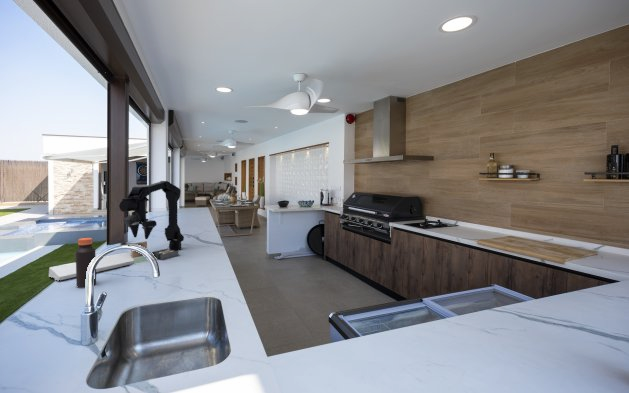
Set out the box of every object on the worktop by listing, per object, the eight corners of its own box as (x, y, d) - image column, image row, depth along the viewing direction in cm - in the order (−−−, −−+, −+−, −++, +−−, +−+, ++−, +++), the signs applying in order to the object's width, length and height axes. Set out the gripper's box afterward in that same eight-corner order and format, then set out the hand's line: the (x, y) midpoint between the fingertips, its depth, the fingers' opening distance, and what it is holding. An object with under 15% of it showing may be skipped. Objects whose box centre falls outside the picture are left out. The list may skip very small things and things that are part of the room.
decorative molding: (135, 268, 168) (125, 260, 173) (137, 259, 167) (126, 252, 172) (58, 286, 139) (48, 276, 143) (59, 277, 138) (49, 267, 142)
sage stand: (144, 259, 178) (144, 252, 178) (154, 260, 175) (153, 254, 174) (125, 263, 168) (125, 256, 168) (135, 265, 165) (134, 258, 165)
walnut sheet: (145, 259, 175) (145, 241, 175) (147, 259, 174) (147, 241, 174) (131, 262, 168) (131, 243, 167) (133, 263, 167) (133, 244, 167)
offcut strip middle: (168, 255, 185) (168, 250, 185) (170, 255, 184) (170, 250, 184) (159, 257, 180) (158, 252, 179) (160, 257, 179) (160, 252, 179)
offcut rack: (166, 254, 190) (166, 248, 190) (180, 256, 185) (180, 250, 184) (148, 258, 179) (148, 252, 179) (162, 261, 174) (162, 255, 174)
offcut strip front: (171, 255, 184) (171, 250, 183) (173, 256, 183) (173, 251, 183) (162, 258, 178) (162, 253, 178) (164, 258, 177) (164, 253, 177)
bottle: (86, 288, 131) (84, 240, 130) (72, 287, 132) (70, 240, 131) (100, 283, 138) (99, 237, 136) (87, 282, 139) (85, 237, 138)
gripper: (114, 210, 169) (115, 239, 170) (137, 212, 161) (138, 242, 162) (134, 208, 179) (134, 235, 180) (156, 210, 171) (157, 238, 172)
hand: (140, 238), depth 173 cm, fingers open, 9 cm apart
